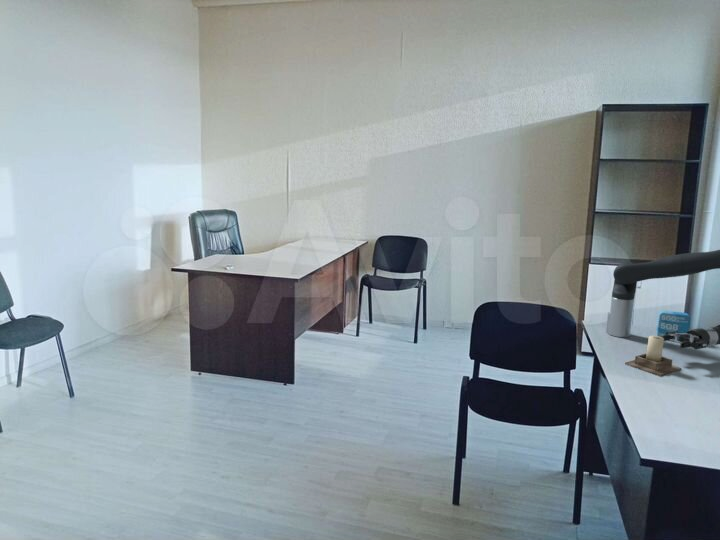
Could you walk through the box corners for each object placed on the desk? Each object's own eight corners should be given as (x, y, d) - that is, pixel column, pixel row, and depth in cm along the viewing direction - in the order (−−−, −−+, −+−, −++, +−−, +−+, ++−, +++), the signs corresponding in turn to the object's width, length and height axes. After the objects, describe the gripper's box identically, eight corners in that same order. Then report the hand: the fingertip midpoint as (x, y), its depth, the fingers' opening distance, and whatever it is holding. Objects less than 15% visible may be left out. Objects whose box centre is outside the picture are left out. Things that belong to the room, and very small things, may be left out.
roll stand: (624, 364, 218) (625, 355, 217) (646, 358, 225) (647, 349, 224) (659, 376, 206) (660, 367, 205) (681, 369, 213) (682, 360, 212)
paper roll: (642, 364, 216) (645, 336, 214) (650, 361, 219) (653, 334, 217) (655, 368, 212) (659, 340, 210) (663, 366, 215) (666, 338, 212)
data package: (656, 338, 250) (659, 312, 248) (655, 335, 255) (659, 309, 252) (687, 342, 246) (691, 315, 243) (686, 339, 250) (689, 313, 247)
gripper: (687, 323, 228) (657, 327, 222) (720, 333, 215) (689, 338, 209) (684, 341, 229) (655, 345, 224) (717, 352, 216) (686, 357, 210)
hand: (671, 341), depth 216 cm, fingers open, 8 cm apart
